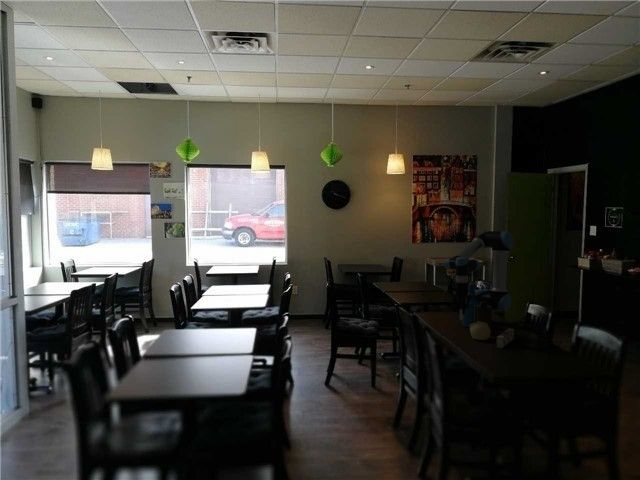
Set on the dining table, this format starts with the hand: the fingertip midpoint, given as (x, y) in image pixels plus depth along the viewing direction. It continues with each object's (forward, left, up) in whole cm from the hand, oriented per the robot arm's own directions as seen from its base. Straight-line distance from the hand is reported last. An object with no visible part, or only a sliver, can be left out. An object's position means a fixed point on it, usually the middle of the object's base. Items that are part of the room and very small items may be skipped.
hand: (461, 319), depth 288 cm
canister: (-17, +8, -11) cm, 22 cm away
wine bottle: (-30, -4, -11) cm, 33 cm away
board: (0, +27, -11) cm, 29 cm away
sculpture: (0, +12, -11) cm, 16 cm away
